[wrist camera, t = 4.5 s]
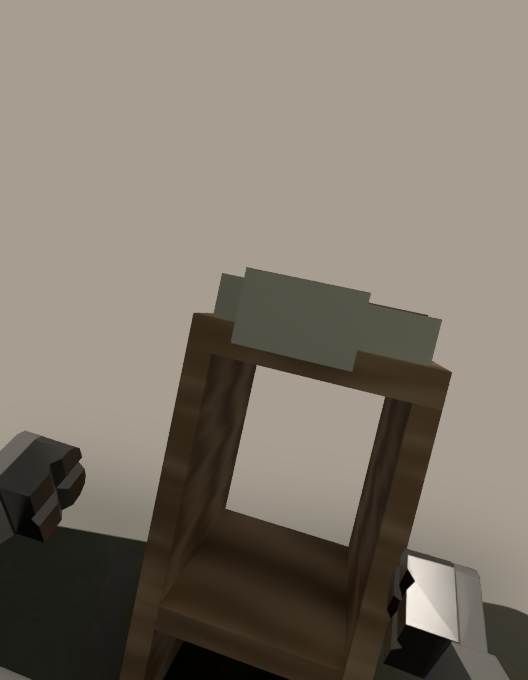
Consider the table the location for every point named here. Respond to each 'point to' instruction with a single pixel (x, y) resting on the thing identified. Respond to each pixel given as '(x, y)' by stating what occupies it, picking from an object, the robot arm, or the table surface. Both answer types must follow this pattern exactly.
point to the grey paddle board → (320, 321)
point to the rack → (270, 539)
